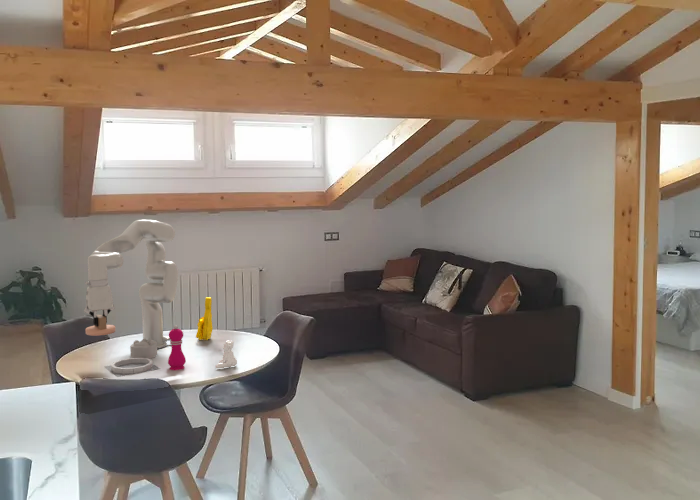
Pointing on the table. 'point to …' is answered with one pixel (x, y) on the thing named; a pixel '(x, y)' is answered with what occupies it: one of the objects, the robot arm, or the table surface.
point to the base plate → (131, 366)
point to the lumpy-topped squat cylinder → (144, 349)
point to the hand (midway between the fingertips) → (100, 325)
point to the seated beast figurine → (227, 356)
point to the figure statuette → (205, 322)
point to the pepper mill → (176, 350)
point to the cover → (100, 328)
